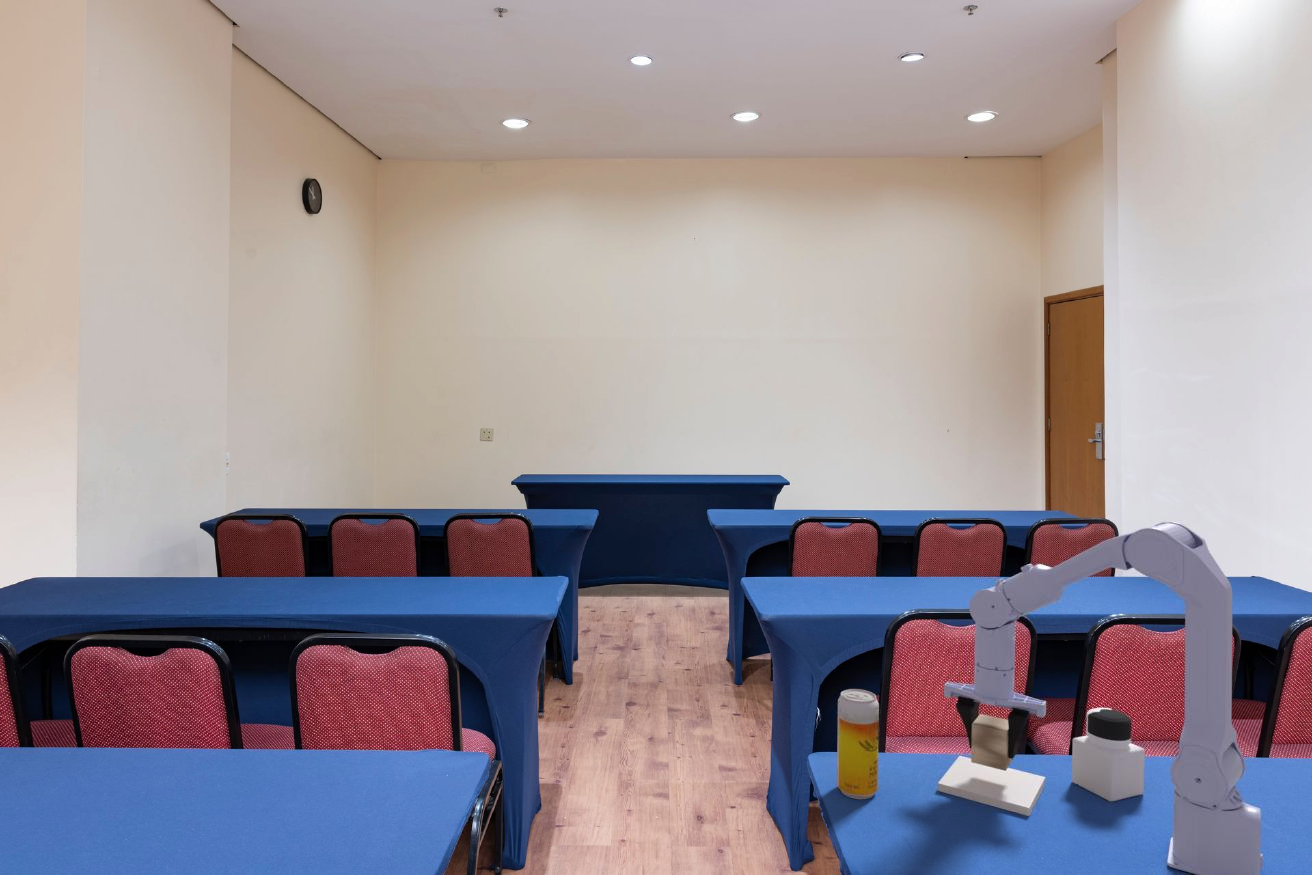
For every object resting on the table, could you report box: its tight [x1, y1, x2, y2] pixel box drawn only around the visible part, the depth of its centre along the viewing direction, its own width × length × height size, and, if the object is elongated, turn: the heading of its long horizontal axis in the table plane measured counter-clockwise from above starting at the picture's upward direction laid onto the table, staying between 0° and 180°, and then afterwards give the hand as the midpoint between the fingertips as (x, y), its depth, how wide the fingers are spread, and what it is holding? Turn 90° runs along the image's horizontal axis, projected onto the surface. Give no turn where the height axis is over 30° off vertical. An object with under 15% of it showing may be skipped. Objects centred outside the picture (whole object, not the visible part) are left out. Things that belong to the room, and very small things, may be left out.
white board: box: [937, 755, 1046, 817], centre depth 124 cm, size 13×12×1 cm
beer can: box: [836, 688, 880, 800], centre depth 123 cm, size 6×6×15 cm
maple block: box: [970, 713, 1014, 771], centre depth 124 cm, size 5×5×6 cm
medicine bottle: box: [1071, 707, 1146, 802], centre depth 124 cm, size 7×7×12 cm
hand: (992, 751), depth 124 cm, fingers closed on maple block, 5 cm apart
